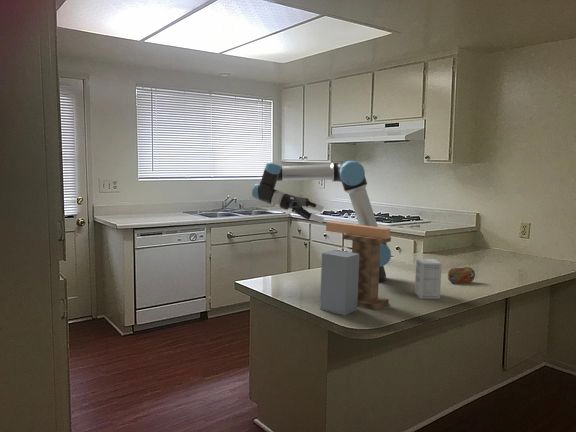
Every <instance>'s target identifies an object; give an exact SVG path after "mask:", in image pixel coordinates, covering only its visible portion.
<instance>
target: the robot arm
mask: <svg viewBox="0 0 576 432" xmlns="http://www.w3.org/2000/svg"><path fill="white" fill-rule="evenodd" d="M318 180H319V181H322V180H323V181H324V180H331V182H340V183H341V184H342V187H343V191H344V192H345V193H347V194H348V195H349V198H350V202H351V204H352V208H353V211H354V215H355V217H356V219H357V222H358V225H364V226H373V227H379V225H378V222H377V220H376V215H375V214H374V209H373V207H372V205H371V201H370V197H369V195H368V193H367V191H368V190H367V188H366V187H367V185H368V182H367V178H366V173H365V168H364V166H363V165H362V163H360V162H358V160H345V161H340V162H338V161H337V162H332V163H331V164H314V165H313V164H312V165H311V164H310V165H308V164H307V165H280V164H277V163H274V162H270V161H268V162H267V163H266V164H265V166H264V171H263V173H262V176H261V180H260V182H259V183H255V184H254V186H253V188H252V190H251V197H253V199H254V198H255V199H256V200H259V201H261V202H264V203H267V204H270V205H272V206H273V207H277V208H281V209H283V210H285V211H287V210H289V209H291V212H292V213H295V214H296V215H299V216H300V217H302V218H304V219H305V220H308V221H309V220H313V221H315V222H318V223H321V224H323V222H324V220H325V217H323V216H321V215H317V214H315V213H312V212H309V211H308V210H306V209H305V208H304V207H306V208H309V209H312V210H315V211H318V212H322V211H323V209H324V206H323V205H321V204H318V203H315V202H312V201H311V200H310V199H309V198H307V197H300V196H294V195H292V194H289V193H285V192H284V191H281V190H278V189H275V187H276V184H277V182H278V181H284V182H285V181H286V182H287V181H318ZM391 252H392V251H391V249H390V247H389V246H388V242H387V243H383V244H381V245H380V266H379V283H380V282H381V283H382V282H385V281H387V274H386V270H385V265H387V264H389V262H390V260H391V257H392V253H391Z"/></svg>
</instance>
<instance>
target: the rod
mask: <svg viewBox="0 0 576 432" xmlns="http://www.w3.org/2000/svg"><path fill="white" fill-rule="evenodd" d="M325 232H330V233H332V232H333V233H339V234H352V235H360V236H367V237H374V238H382V239H388V238H390V237H391V228H388V227H381V226H380V227H379V226H378V227H373V226H364V225H359V224H355V223H349V222H348V223H347V222H339V221H326V223H325Z"/></svg>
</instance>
